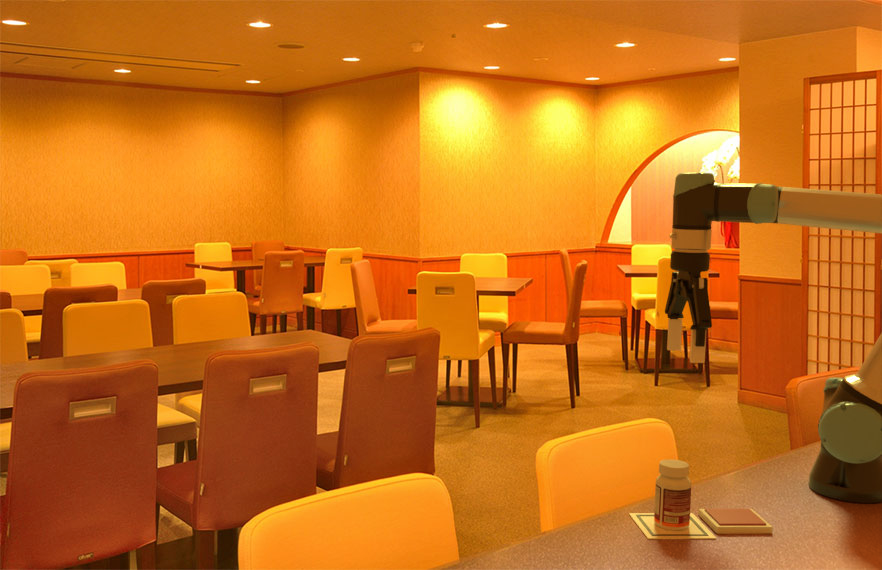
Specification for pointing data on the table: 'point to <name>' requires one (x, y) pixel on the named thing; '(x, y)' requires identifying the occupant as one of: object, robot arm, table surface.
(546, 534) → the table surface
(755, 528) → the pad
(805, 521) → the table surface
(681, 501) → the pill bottle
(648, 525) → the paper sheet
